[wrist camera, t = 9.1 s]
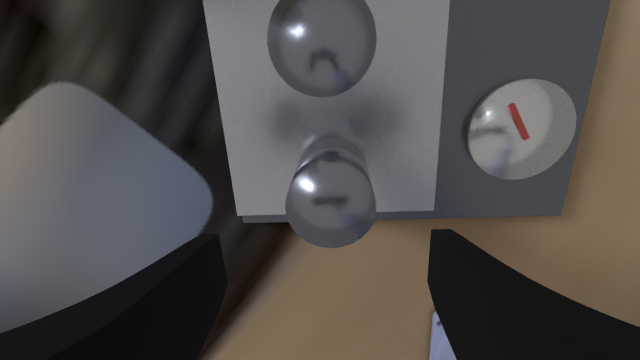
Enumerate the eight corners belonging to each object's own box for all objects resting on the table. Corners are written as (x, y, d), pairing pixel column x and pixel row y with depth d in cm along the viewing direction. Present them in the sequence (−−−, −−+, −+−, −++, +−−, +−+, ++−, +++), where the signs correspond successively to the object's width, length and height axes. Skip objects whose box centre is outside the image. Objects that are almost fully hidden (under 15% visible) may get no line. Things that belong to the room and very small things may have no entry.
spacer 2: (365, 202, 20) (374, 248, 15) (299, 202, 20) (287, 247, 15) (368, 136, 18) (378, 165, 14) (296, 137, 18) (282, 165, 14)
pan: (430, 205, 20) (433, 210, 20) (240, 210, 21) (237, 215, 20) (446, -17, 16) (451, -21, 15) (207, 0, 17) (202, -3, 16)
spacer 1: (366, 83, 17) (376, 94, 13) (290, 88, 17) (273, 99, 13) (365, -3, 16) (376, -27, 11) (283, 4, 16) (260, -18, 11)
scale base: (551, 208, 21) (569, 221, 19) (247, 216, 23) (240, 229, 21) (606, -48, 16) (637, -59, 15) (212, -18, 18) (199, -25, 16)
